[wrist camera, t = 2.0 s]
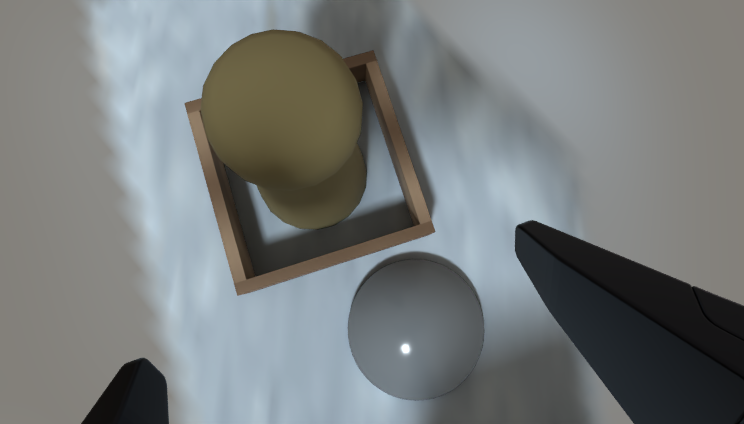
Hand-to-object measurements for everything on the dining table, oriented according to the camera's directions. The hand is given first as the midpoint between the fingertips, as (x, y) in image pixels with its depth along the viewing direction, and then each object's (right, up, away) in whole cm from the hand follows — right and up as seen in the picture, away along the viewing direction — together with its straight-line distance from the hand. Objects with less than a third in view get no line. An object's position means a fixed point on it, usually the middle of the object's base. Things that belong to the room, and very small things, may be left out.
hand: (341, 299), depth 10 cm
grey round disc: (+3, -4, +12) cm, 13 cm away
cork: (-3, +4, +13) cm, 14 cm away
